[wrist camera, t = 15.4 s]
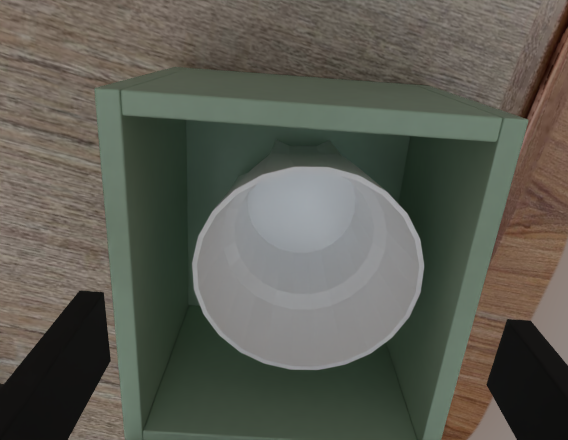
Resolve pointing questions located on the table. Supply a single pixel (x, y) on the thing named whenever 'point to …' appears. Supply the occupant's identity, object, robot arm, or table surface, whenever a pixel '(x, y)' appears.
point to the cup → (307, 261)
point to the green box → (212, 189)
